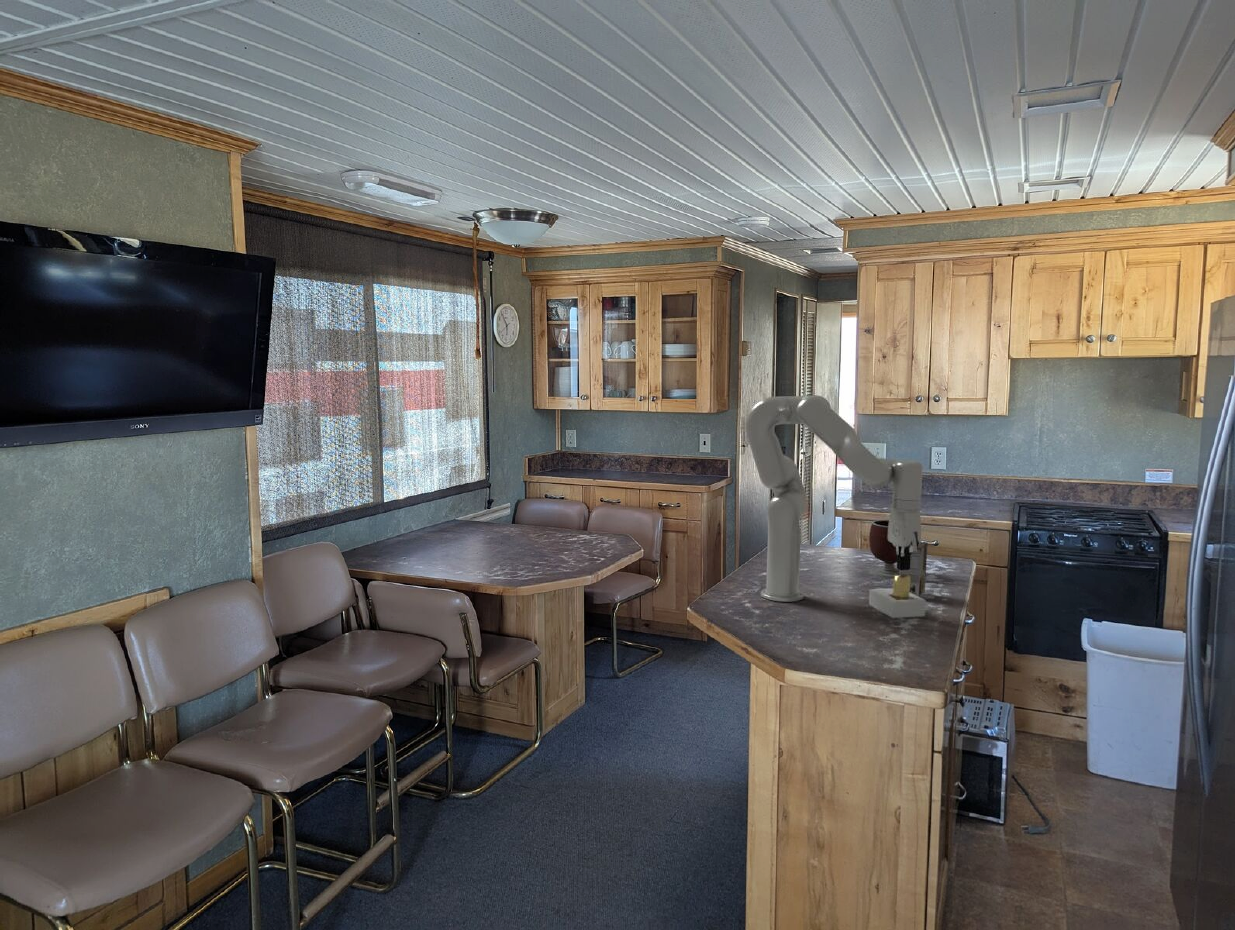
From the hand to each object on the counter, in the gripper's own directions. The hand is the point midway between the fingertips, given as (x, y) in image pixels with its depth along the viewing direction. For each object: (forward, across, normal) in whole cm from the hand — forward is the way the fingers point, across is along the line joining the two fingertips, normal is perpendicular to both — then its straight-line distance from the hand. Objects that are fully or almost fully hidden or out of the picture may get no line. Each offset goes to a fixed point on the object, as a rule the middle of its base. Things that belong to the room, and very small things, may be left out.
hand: (903, 569), depth 234 cm
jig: (+12, -2, 0) cm, 13 cm away
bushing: (+11, 0, 0) cm, 11 cm away
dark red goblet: (+13, -41, +20) cm, 47 cm away
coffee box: (+13, -16, +13) cm, 24 cm away
